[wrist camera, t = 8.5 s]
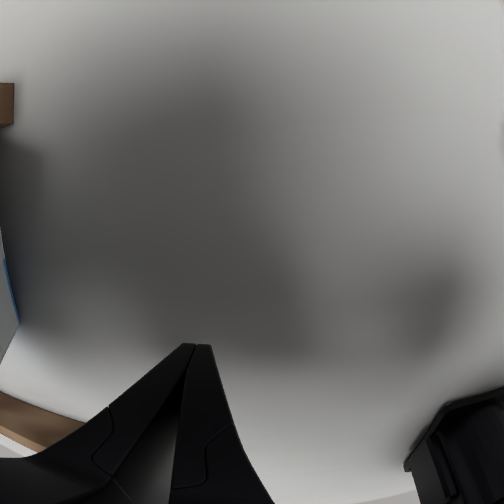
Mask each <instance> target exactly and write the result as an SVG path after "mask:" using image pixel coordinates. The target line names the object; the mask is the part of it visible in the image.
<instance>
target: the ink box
mask: <svg viewBox="0 0 504 504" xmlns="http://www.w3.org/2000/svg"><path fill="white" fill-rule="evenodd" d="M19 325H20V320H19V316H18V312H17V309H16V305H15V301H14V297H13V293H12V289H11V285H10V280H9V276H8V271H7V266H6V260H5V255H4V250H3V243H2V236H1V228H0V364H1V361H2V359H3V357H4V355H5V353H6V351H7V349H8V347H9V345H10V343H11V341H12V339H13V337H14V335H15V333H16V331H17V330H18V328H19Z"/></svg>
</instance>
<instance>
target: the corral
mask: <svg viewBox="0 0 504 504" xmlns="http://www.w3.org/2000/svg"><path fill="white" fill-rule="evenodd" d="M13 88H14V83H0V128H1V127H3V126H6V125H9V124H12V123H13ZM84 424H85V423H82V422H78V421H75V420H72V419H69V418H66V417H63V416H60V415H57V414H54V413H51V412H48V411H46V410H43V409H40V408H38V407H35V406H32V405H30V404H27V403H25V402H23V401H20V400H18V399H15V398H13V397H11V396H9V395H6V394H4V393H2V392H0V433H1V434H2V435H4V436H6V437H8V438H10V439H12V440H13V441H15V442H17V443H19V444H21V445H23V446H25V447H27V448H29V449H31V450H33V451H36V452H38V453H39V452H40V451H42V450H44V449H46V448H47V447H49V446H51V445H52V444H54V443H56V442H57V441H59V440H60V439H62V438H64V437H65V436H67V435H68V434H70V433H72V432H73V431H75V430H76V429H78V428H79V427H81V426H82V425H84Z"/></svg>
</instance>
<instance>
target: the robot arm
mask: <svg viewBox="0 0 504 504" xmlns="http://www.w3.org/2000/svg"><path fill="white" fill-rule="evenodd" d="M403 467H404V470H405V472H410V471H411V472H412V475H413V478H414V482H415V485H416V489H417V492H418V496H419V499H420V503H421V504H504V388H502V389H499V390H496V391H493V392H490V393H487V394H483V395H480V396H476V397H473V398H469V399H465V400H462V401H458V402H454V403H451V404H448V405H447V406H445V407H444V408H443V409H442V410H441V411H440V413H439V414H438V416H437V418H436V419H435V421H434V422H433V424H432V426H431V427H430V429H429V430H428V432H427V433H426V435H425V436H424V438H423V439H422V441H421V442H420V443H419V445H418V446H417V448H416V449H415V451H414V452H413V453H412V455H411V456H410V457H409V459H408V460H407V461H406V463H405V464H404V466H403ZM0 504H275V503H274V502H273V500H272V499H271V497H270V495H269V494H268V492H267V490H266V489H265V487H264V485H263V484H262V482H261V480H260V479H259V477H258V475H257V474H256V472H255V470H254V468H253V467H252V465H251V463H250V461H249V459H248V457H247V455H246V453H245V451H244V449H243V446H242V444H241V441H240V438H239V436H238V433H237V430H236V427H235V425H234V421H233V418H232V415H231V411H230V408H229V405H228V402H227V399H226V395H225V392H224V389H223V385H222V382H221V379H220V375H219V372H218V368H217V365H216V361H215V358H214V354H213V351H212V347H211V345H209V344H198V345H196V344H194V343H182V344H181V345H180V346H179V347H177V348H176V349H175V350H174V351H173V352H172V353H170V354H169V355H168V356H167V357H166V358H164V359H163V360H162V361H161V362H160V363H159V364H157V365H156V366H155V367H154V368H153V369H151V370H150V371H149V372H148V373H147V374H146V375H144V376H143V377H142V378H141V379H140V380H138V381H137V382H136V383H135V384H134V385H132V386H131V387H130V388H129V389H128V390H126V391H125V392H124V393H123V394H122V395H120V396H119V397H118V398H117V399H115V400H114V401H113V402H112V403H111V404H109V407H106V408H104V409H103V410H102V411H101V412H100V413H98V414H97V415H96V416H94V417H93V418H92V419H90V420H89V421H88V422H87V423H85V424H84V425H82V426H81V427H79V428H78V429H76V430H75V431H73V432H72V433H70V434H68V435H67V436H65V437H64V438H62V439H60V440H59V441H57V442H56V443H54V444H52V445H51V446H49V447H47V448H46V449H44V450H42V451H40V452H39V453H37V454H34V455H32V456H28V457H22V458H0Z"/></svg>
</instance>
